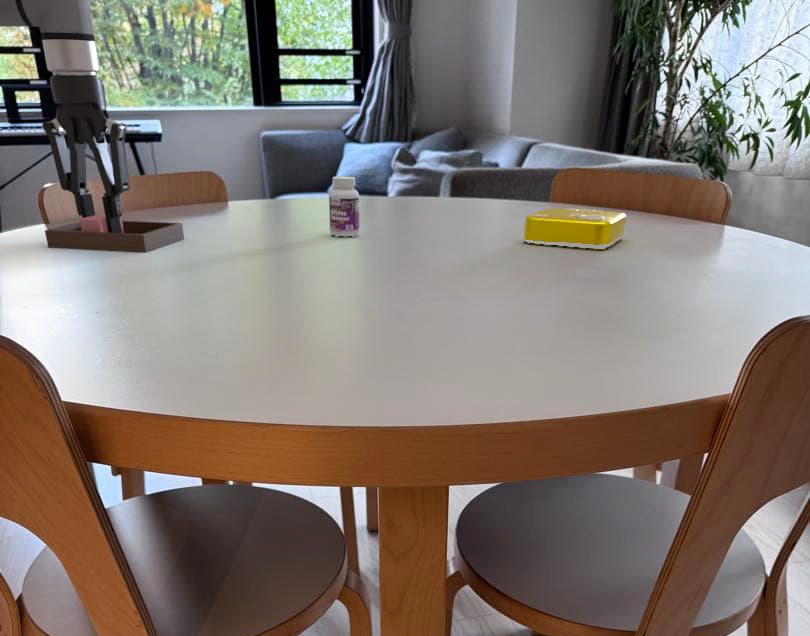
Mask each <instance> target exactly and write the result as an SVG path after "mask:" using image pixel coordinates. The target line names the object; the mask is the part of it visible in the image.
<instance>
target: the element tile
mask: <svg viewBox="0 0 810 636" xmlns="http://www.w3.org/2000/svg"><path fill="white" fill-rule="evenodd" d="M626 218H627V215H626V214H625V213H624V212H618V211H617V212H616V211H603V210H594V209H583V208H582V209H581V208H558V207H549V208H546V209H543V210H540V211H538V212H534V213H533V214H532V213H531V214H530V215H527V216H525V220H524V221H525V222H524V233H523V234H524V235H523V240H524V239H526V240H533V241H544V242H566V243H567V242H568V243H582V244H593V245H600V244H601V245H602V244H609V243H611V242H612V241H614V240H615V239H616V238H618V237H619V236H621V235H622V234H623V235H624V232H625V225H626ZM619 242H620V241H618V242H617V243H619ZM617 243H615V244H614V245H616V244H617ZM526 244H528V245H530V244H529V243H526ZM532 245H533V246H541V245H540V244H532ZM614 245H612V246H611V247H613V246H614ZM544 246H545V247H552V246H551V245H544ZM555 247H556V248H557V247H558V248H564V247H563V246H555ZM611 247H609V248H610V249H611ZM567 248H568V249H569V248H571V249H575V248H574V247H567ZM609 248H608V249H609ZM578 249H582V250H587V249H586V248H578ZM590 250H593V251H604V250H606V249H590Z"/></svg>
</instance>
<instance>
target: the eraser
mask: <svg viewBox="0 0 810 636" xmlns="http://www.w3.org/2000/svg"><path fill="white" fill-rule="evenodd" d="M122 217H123V216H121V217H119V222H120V228H121V233H124V229H123V223H122V221H123V218H122ZM79 222H80V225H81V230H82V231H85V232H106V233H108V228H107V222H106V217H105V213H99V214H95V215H94V216H90V217H86V218H79Z"/></svg>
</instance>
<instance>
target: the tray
mask: <svg viewBox="0 0 810 636" xmlns="http://www.w3.org/2000/svg"><path fill="white" fill-rule="evenodd" d="M122 223H123V229H124V233H106V232H85V231H82V230H81V225H80V221H78V222H74V223H70V224H66V225H62V226H56V227H53V228H49V229H45V230H44V235H45V239H46V244H47V248H56V249H57V248H59V249H74V250H94V251H95V250H96V251H113V252H114V251H116V252H132V253H133V252H136V253H147V252H150V251H155V250H157V249H159V248H162V247H165V246H169V245H171V244H173V243H176V242H180V241H183V240H184V239H185V235H184V234H185V233H184V227H183V223H182V222H164V221H141V220H122Z"/></svg>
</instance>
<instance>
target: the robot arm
mask: <svg viewBox="0 0 810 636" xmlns="http://www.w3.org/2000/svg"><path fill="white" fill-rule="evenodd" d="M91 12H92V11H91V5H90V0H0V28H1V27H2V28H3V27H7V28H8V27H9V28H10V27H13V28H15V27H17V28H18V27H29V28H37V27H38V28H39V31H40V37H41V42H42V48H43V51H44V59H45V63H46V70H48V72H51V73H52V75H51V76H50V78H49V82H50V83H49V84H50V88H51V94H52V99H53V102H54V103H55V105H56V112H55V113H56V114H55V118H53V119H52V120H50V121H43V122H42V128H43V130H44V133H45V134H46V136H47V139H48V140H49V144H50V148H51V153H52V156H53V161H54V164H55V168H56V172H57V176H58V180H59V185H60V188H61V190H63V191H68V192H70V193H72V195H73V196H74V201H75V207H76V213H77V214H78V216H80V217H82V218H86V217H90V216H94V215H96V211H95V205H94V200H93V194H92V193H89V192H90V189H87V163H86V162H87V161H86V149H87V148H89V149H90V150H91V152H92V154H93V158H94V161H95V163H96V167H97V171H98V174H99V176H100V179H101V183H102V186H103V189H104V193H102V194H103V196H101V199H102V205H103V210H104V214H105V217H106V222H107V228H108V233H121V228H120V222H119V217H123V210H122V209H123V208H122V204H121V195H122V194H124V193H125V192H128V191H129V190H130V179H129V171H128V169H129V168H128V161H127V152H126V143H125V139H126V134H127V125H126V124H125V123H123V122H120V123H119V122H117V121H115V120H113V119H111V118H110V115H109V113H108V112H107V109H106V97H105V91H104V85H103V80H102V79H101V76H98V74H97V73H99V72H100V71H101V69H100V68H101V67H100V62H99V55H98V50H97V42H96V38H95V31H94V25H93V17H92V13H91ZM64 132H65V133H66V138H65V135H64ZM106 132H107V134H108V135H109V139H108V140H109V146H108V142H107V139H106V135H105V134H106ZM66 140H67V141H66ZM108 147H109V149H110V154H109V151H108ZM68 149H69V150H68ZM110 157H111V158H110Z"/></svg>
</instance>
